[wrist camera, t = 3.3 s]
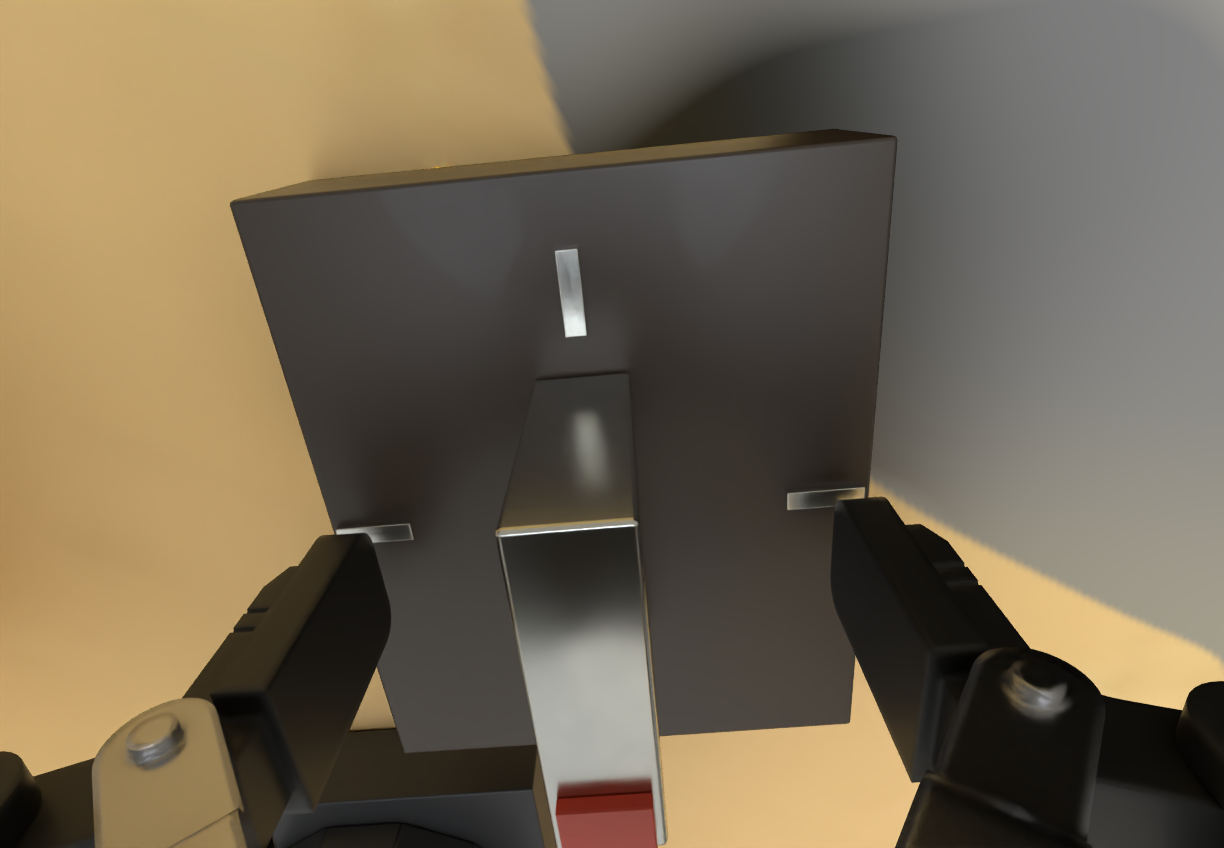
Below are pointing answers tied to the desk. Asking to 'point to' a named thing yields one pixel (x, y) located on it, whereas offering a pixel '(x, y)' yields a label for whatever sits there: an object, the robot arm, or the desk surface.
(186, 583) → the desk surface
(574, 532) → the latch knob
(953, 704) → the robot arm
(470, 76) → the desk surface
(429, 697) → the rotary lever switch
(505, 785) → the button box
